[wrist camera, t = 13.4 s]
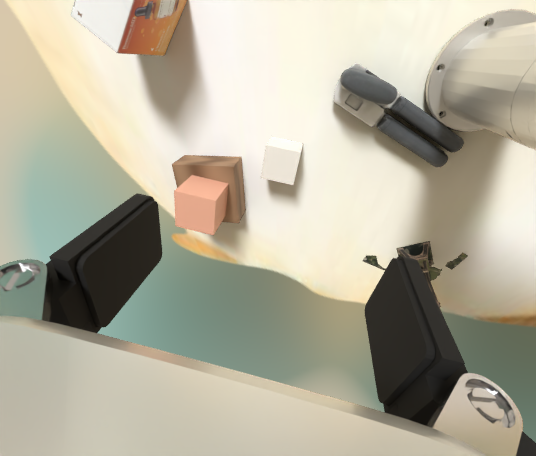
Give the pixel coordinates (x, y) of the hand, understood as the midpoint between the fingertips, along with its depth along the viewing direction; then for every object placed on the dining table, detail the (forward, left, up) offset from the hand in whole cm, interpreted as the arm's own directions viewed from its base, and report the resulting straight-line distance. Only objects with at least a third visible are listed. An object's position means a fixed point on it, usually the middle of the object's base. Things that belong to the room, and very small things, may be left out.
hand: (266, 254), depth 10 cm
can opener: (-12, -2, -34) cm, 36 cm away
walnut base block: (+13, +15, -34) cm, 39 cm away
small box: (+22, -8, -33) cm, 41 cm away
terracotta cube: (+12, +15, -29) cm, 34 cm away
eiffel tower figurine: (-25, +20, -34) cm, 47 cm away
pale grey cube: (+2, +7, -33) cm, 34 cm away
